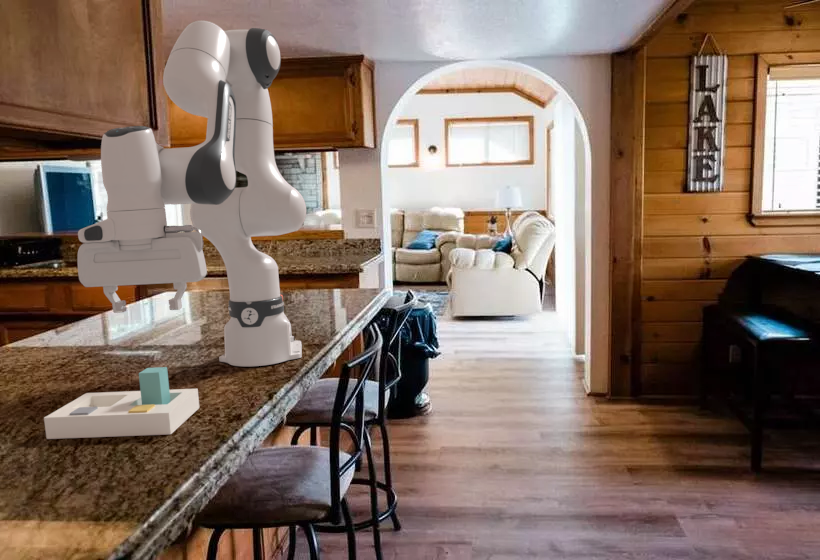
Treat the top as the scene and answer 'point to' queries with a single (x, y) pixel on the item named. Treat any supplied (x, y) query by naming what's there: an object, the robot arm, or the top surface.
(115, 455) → the top surface
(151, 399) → the plug
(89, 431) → the socket block
